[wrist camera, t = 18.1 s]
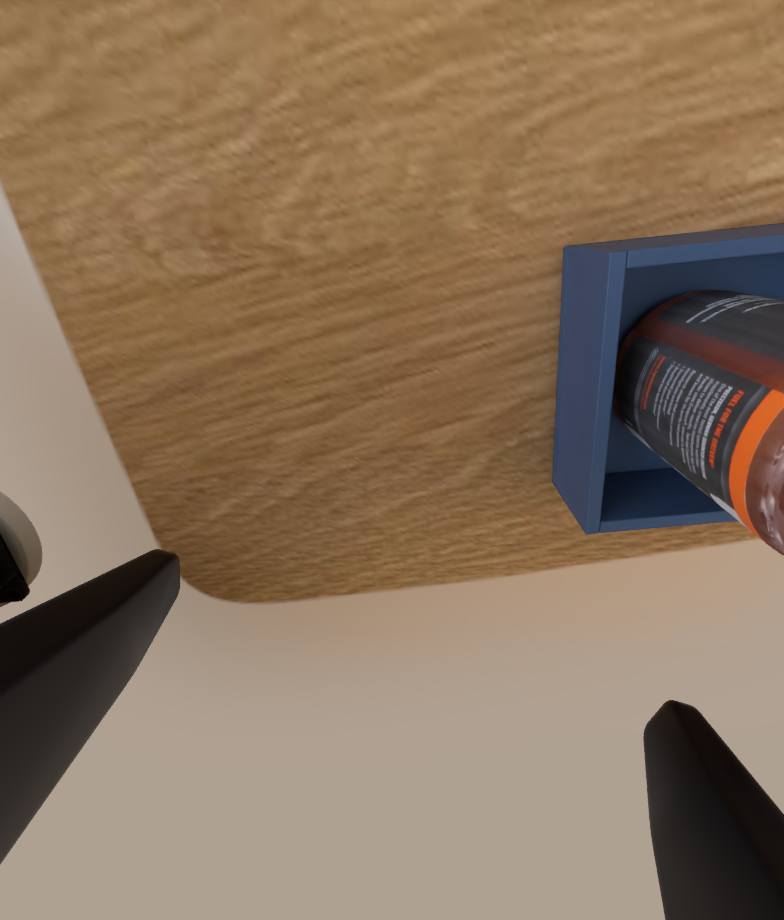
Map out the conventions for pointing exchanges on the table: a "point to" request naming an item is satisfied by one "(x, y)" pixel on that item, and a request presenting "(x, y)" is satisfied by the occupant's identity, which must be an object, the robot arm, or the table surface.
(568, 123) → the table surface
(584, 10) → the table surface
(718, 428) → the supplement bottle
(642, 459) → the blue open box
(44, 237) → the table surface
